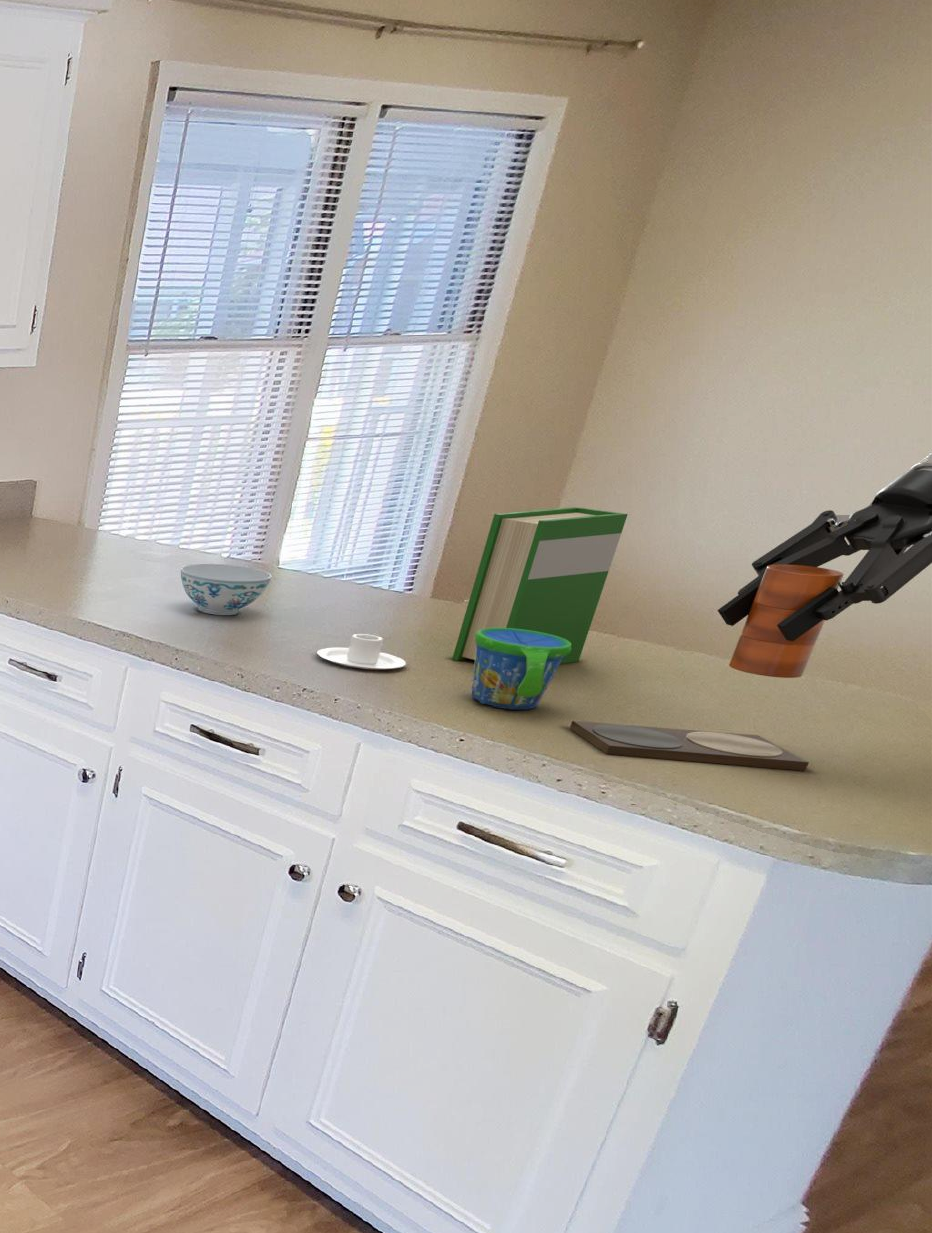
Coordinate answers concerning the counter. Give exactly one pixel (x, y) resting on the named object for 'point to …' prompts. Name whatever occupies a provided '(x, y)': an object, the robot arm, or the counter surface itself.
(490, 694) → the snack cup
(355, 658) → the candle holder
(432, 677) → the counter surface
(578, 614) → the hardback book
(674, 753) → the board
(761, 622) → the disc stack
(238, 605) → the chinaware
